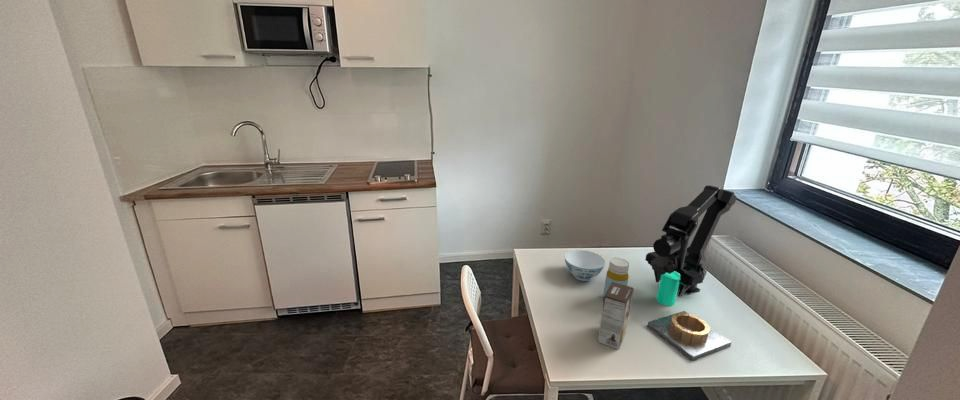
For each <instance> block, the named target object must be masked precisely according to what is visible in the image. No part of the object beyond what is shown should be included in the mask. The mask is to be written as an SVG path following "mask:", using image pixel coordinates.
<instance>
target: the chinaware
mask: <svg viewBox="0 0 960 400" xmlns="http://www.w3.org/2000/svg"><path fill="white" fill-rule="evenodd" d="M564 263H565V266H566V269H568V271H569V273H571V275H573V277H574V278H575V279H576V280H578V281H582V282H587V281H591V280H592V279H593V278H595V277H597V276H598V275H600V274H601V272H602V271H603V269H604V267H605V265H606V260H605V258H604V257H603V256H602V255H601V254H598V253H596V252H594V251H591V250H586V249H585V250H584V249H573V250H569V251H567V252H565V254H564Z"/></svg>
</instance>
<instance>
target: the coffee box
mask: <svg viewBox="0 0 960 400" xmlns="http://www.w3.org/2000/svg"><path fill="white" fill-rule="evenodd" d="M634 290H635V287H632V286H629V285H627V286H626V285H622V284H618V283H614V282H612V283H611V285H610V287H609V289H608V290H607V292H606V294H605V296H604V298H603V304H602V309H601V317H600V322H599V323H600V324H599V331H598V337H597V343H600V344H603V345H604V346H605V345H606V346H608V347H611V348H613V349H616V350H620V348H621V346H622V343H623V340H624V339H625V335H626V334H627V327H628V323H629V319H630V317H629V316H630V312H631V306H632V302H633V301H632V300H633V295H634Z"/></svg>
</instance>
